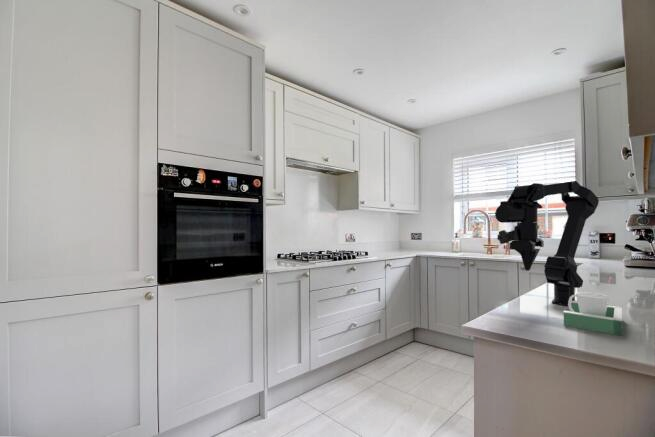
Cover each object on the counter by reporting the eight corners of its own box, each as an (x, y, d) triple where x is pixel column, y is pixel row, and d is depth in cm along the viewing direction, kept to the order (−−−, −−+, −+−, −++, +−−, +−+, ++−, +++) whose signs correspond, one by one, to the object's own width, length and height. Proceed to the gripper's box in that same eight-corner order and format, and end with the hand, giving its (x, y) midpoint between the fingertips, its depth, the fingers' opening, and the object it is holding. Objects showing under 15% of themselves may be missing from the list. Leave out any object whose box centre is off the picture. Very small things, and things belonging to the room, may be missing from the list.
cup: (596, 329, 82) (595, 298, 82) (559, 318, 92) (559, 290, 92) (616, 327, 84) (616, 296, 84) (578, 316, 94) (578, 288, 94)
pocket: (571, 312, 98) (570, 300, 98) (622, 320, 90) (622, 307, 90) (563, 325, 86) (563, 311, 86) (622, 335, 78) (621, 320, 78)
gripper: (507, 222, 116) (507, 265, 116) (491, 222, 103) (492, 271, 102) (543, 222, 109) (544, 268, 108) (531, 222, 95) (532, 275, 95)
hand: (527, 270), depth 104 cm, fingers closed
